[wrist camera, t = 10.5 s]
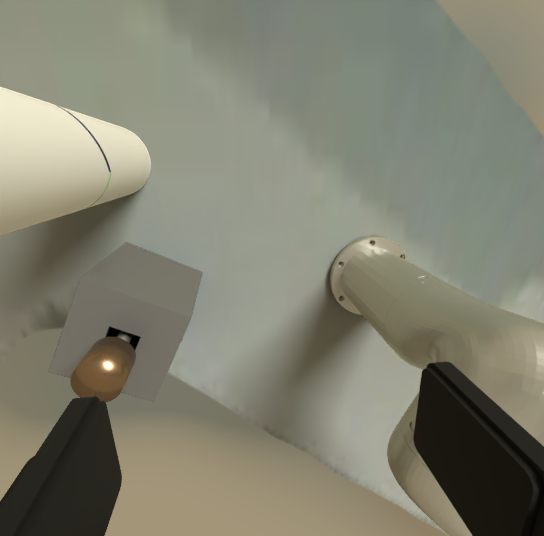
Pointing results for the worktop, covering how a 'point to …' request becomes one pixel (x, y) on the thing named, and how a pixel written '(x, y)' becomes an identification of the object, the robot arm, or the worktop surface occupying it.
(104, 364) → the plunger
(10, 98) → the container
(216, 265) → the worktop surface
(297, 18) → the worktop surface
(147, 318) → the grey box
